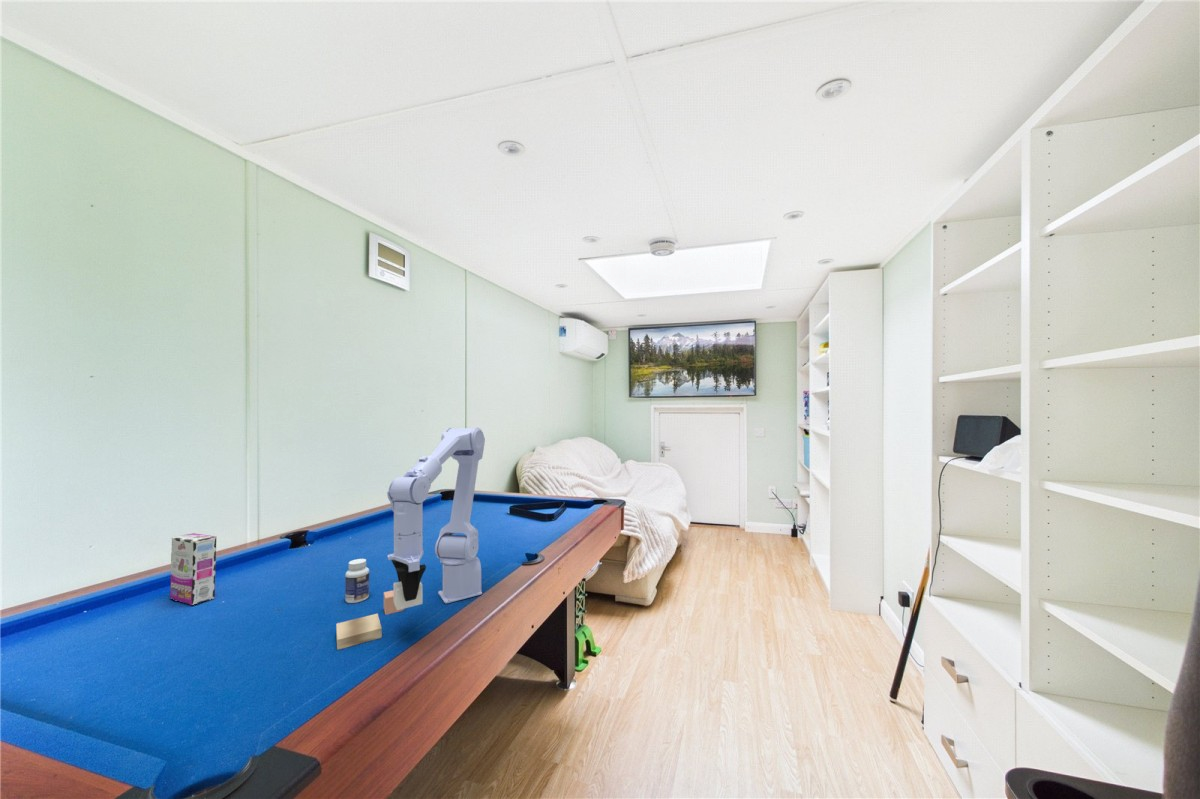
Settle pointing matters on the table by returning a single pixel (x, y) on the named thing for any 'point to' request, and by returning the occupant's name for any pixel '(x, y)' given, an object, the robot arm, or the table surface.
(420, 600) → the cream cube
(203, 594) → the candy bar box
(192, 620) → the table surface
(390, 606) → the terracotta cube
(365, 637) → the oak slab
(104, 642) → the table surface
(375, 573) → the table surface
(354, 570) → the pill bottle
